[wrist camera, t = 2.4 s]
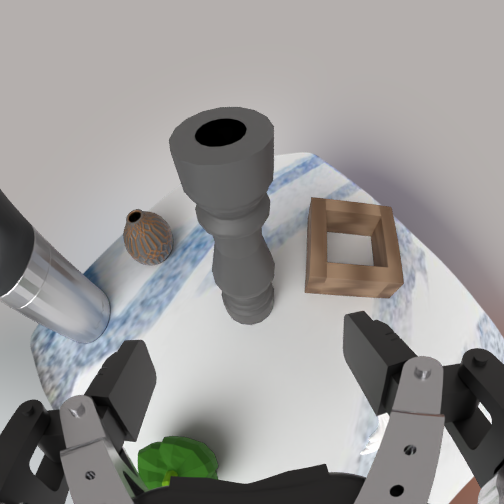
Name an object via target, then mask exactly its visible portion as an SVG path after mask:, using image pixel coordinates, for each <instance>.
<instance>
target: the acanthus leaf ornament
mask: <svg viewBox="0 0 504 504" xmlns="http://www.w3.org/2000/svg"><path fill="white" fill-rule="evenodd" d="M389 418H390V417H389V415H388V413H385V414H382V415H379V416H378V419H379V424H378V428H377V430H376V431H375V432H374V433H373V434H372V435H371V436H370V437H369V438H368V440H369V442H368V444H367V445H366V446H367V447H366V448H365V449H364V450H363V451H362V452H361V455H364V454H368V453H372V452H374V451H376V450H377V449H379V447H380V444H381V441H382V438H383V436H384V433H385V430H386V427H387V424H388V421H389Z"/></svg>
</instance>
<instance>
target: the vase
mask: <svg viewBox="0 0 504 504" xmlns="http://www.w3.org/2000/svg"><path fill="white" fill-rule="evenodd" d="M126 221H127V222H126V226H125V229H124V234H123V236H124V243H125V246H126V249H127V251H128V252H129V254H130V255H131V256H132V257H133V258H134V259H135V260H136V261H138V262H140V263H142V264H145V265H155V264H159V263H161V262H162V261H164V260H165V259H166V258H167V257H168V256H169V254H170V252H171V250H172V246H173V236H172V232H171V229H170V227H169V225H168V224H167V222H166V221H165V220H164V219H163V218H162V217H160V216H159V215H157V214H155V213H153V212H145V211H142V210H139V209H136V210H133V211H131V212H130V213H129V214H128V216H127V219H126Z"/></svg>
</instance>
